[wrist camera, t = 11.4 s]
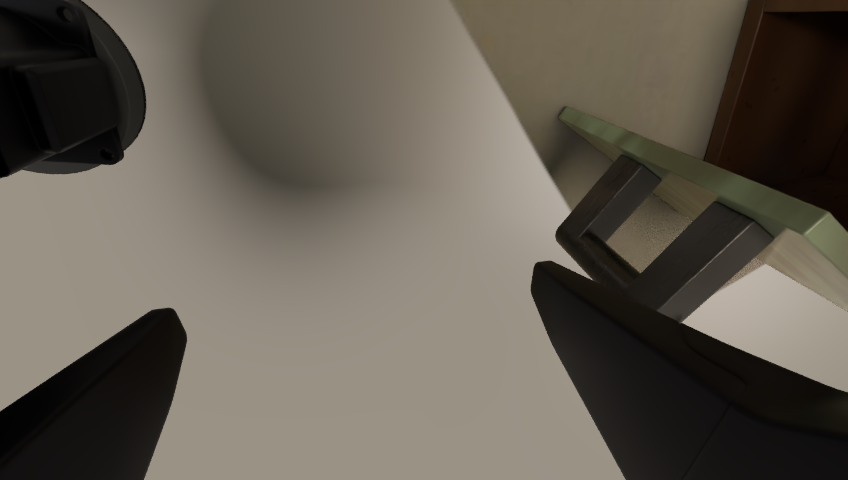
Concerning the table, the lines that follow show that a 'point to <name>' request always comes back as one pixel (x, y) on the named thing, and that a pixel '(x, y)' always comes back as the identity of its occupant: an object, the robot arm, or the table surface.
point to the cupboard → (789, 103)
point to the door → (696, 225)
